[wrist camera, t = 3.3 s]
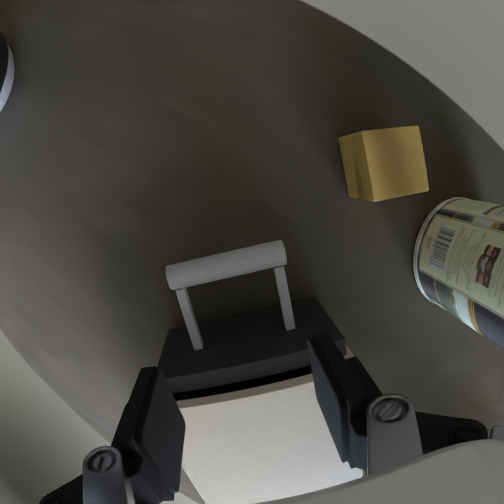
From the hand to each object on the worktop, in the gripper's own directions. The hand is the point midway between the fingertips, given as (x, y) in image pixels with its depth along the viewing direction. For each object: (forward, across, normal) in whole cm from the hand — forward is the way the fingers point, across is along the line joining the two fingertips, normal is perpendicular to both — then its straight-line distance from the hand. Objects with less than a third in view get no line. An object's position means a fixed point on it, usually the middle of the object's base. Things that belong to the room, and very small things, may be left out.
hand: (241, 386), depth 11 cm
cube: (+13, -12, -6) cm, 19 cm away
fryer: (+13, 0, +12) cm, 18 cm away
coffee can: (+14, -20, +3) cm, 24 cm away
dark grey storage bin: (+13, 0, +7) cm, 14 cm away
